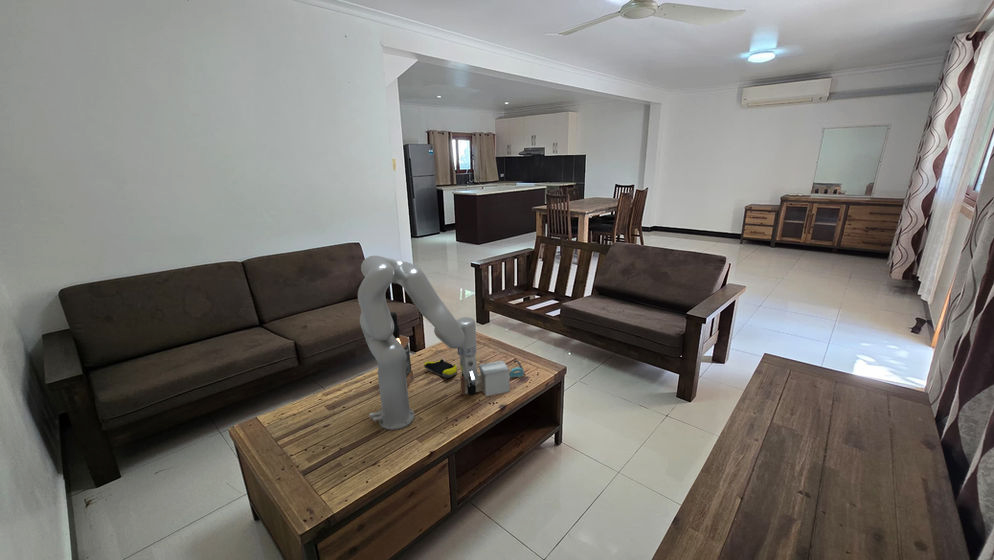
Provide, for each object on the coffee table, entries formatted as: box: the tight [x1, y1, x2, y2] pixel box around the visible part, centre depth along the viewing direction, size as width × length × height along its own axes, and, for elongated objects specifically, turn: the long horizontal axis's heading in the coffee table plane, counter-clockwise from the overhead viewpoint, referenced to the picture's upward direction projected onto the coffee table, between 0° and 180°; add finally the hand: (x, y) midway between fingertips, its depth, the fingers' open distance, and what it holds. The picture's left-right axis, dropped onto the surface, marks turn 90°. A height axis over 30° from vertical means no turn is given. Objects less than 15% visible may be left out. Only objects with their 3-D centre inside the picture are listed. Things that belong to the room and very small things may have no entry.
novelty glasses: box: [509, 359, 525, 379], centre depth 177 cm, size 14×15×5 cm
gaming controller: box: [423, 358, 458, 379], centre depth 176 cm, size 15×6×10 cm
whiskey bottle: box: [390, 311, 415, 389], centre depth 165 cm, size 10×10×32 cm
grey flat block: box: [459, 372, 484, 395], centre depth 162 cm, size 18×2×7 cm, turn 108°
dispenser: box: [477, 360, 511, 397], centre depth 163 cm, size 10×8×10 cm
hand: (468, 387), depth 160 cm, fingers open, 9 cm apart
